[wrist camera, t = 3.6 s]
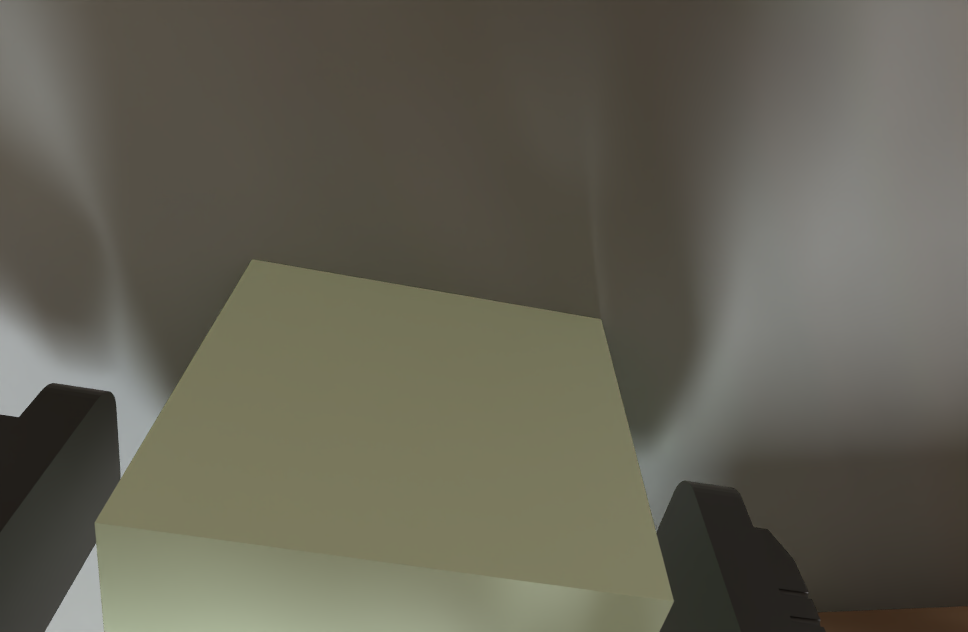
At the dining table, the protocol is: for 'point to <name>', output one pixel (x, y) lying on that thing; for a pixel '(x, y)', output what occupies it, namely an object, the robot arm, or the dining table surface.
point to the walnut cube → (897, 620)
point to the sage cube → (384, 473)
